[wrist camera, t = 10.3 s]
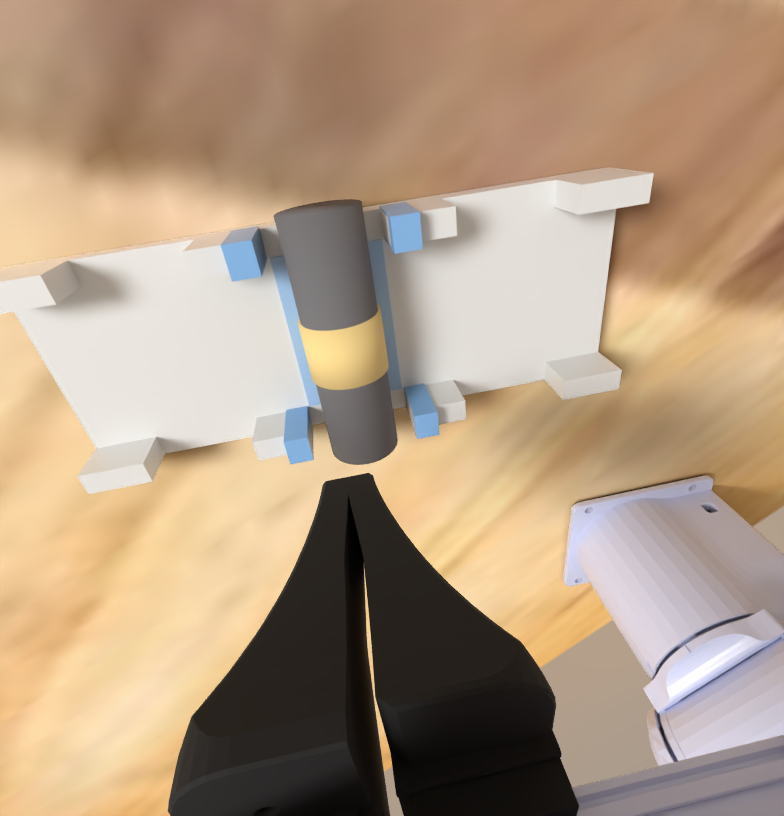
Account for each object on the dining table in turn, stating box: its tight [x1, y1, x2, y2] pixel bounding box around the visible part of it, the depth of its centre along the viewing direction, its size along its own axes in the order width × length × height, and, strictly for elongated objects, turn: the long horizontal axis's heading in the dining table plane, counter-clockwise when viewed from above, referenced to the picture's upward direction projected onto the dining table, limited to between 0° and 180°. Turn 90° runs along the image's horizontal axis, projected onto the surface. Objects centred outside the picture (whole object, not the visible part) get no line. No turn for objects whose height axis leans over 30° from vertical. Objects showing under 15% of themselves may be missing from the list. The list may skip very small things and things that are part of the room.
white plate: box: [0, 167, 654, 494], centre depth 19 cm, size 24×9×4 cm, turn 97°
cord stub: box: [274, 199, 398, 465], centre depth 18 cm, size 10×3×3 cm, turn 7°
